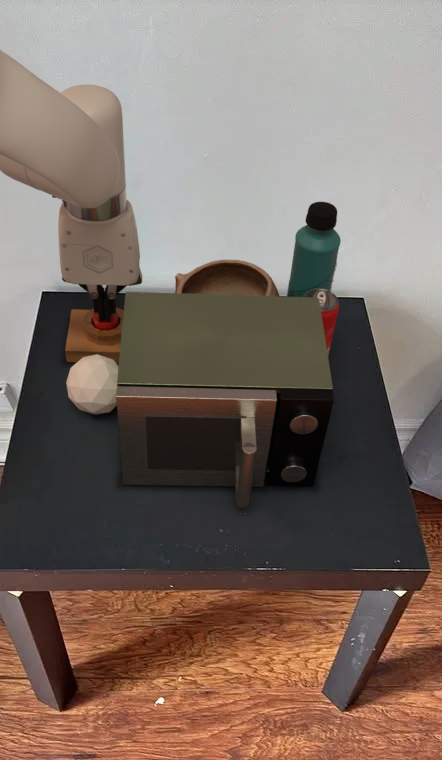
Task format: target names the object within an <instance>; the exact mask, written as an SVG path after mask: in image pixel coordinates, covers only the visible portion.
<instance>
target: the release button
mask: <svg viewBox="0 0 442 760" xmlns="http://www.w3.org/2000/svg"><path fill="white" fill-rule="evenodd" d="M93 324H94V328H97V329H99V330H112V329H115V328H117V327H118V326H119V318H118V313H117V312H116V313H112V314H111V322H107V321H105V320H104V321H103V322H99V314H98V313H94V314H93Z"/></svg>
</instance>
